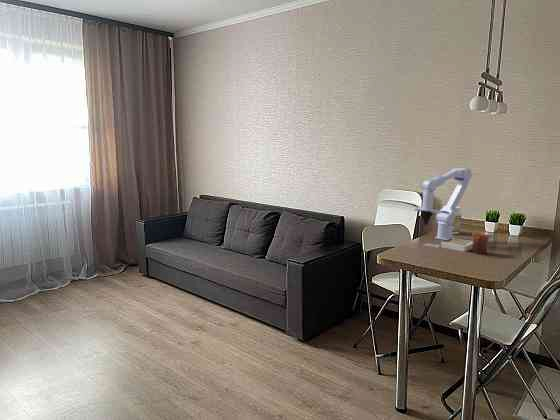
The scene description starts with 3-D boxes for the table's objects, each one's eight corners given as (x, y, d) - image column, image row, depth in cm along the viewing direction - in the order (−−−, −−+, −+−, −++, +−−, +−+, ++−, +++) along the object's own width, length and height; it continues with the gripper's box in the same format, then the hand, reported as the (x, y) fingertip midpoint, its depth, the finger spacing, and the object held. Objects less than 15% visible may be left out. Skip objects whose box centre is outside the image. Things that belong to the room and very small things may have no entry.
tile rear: (449, 245, 242) (450, 240, 241) (458, 246, 238) (459, 242, 238) (446, 246, 238) (446, 242, 238) (455, 248, 235) (456, 243, 234)
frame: (451, 242, 246) (452, 237, 246) (475, 246, 238) (476, 241, 237) (441, 247, 234) (441, 242, 234) (465, 251, 226) (465, 246, 225)
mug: (472, 249, 231) (474, 231, 229) (490, 252, 226) (492, 233, 224) (466, 254, 221) (468, 234, 220) (485, 257, 216) (487, 237, 215)
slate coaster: (427, 244, 243) (427, 243, 243) (441, 246, 239) (441, 245, 239) (422, 246, 237) (422, 245, 237) (437, 249, 232) (437, 247, 232)
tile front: (459, 246, 238) (459, 242, 238) (468, 248, 235) (468, 244, 235) (455, 248, 235) (456, 243, 234) (465, 250, 231) (465, 245, 231)
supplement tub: (462, 234, 270) (465, 208, 268) (443, 234, 270) (446, 207, 267) (454, 230, 282) (457, 205, 280) (436, 230, 282) (438, 205, 280)
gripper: (413, 200, 250) (411, 223, 252) (437, 203, 241) (435, 227, 243) (418, 199, 255) (416, 222, 257) (442, 202, 246) (440, 225, 248)
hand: (426, 224), depth 250 cm, fingers closed
